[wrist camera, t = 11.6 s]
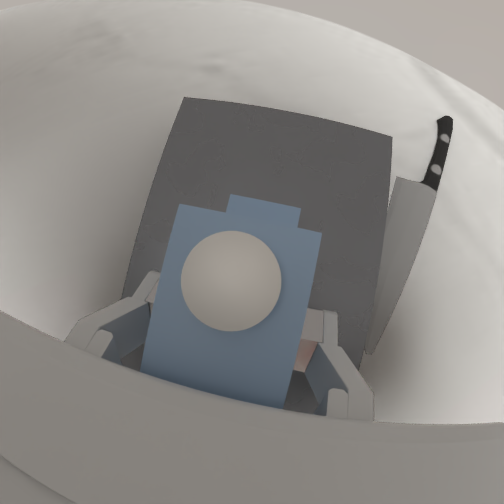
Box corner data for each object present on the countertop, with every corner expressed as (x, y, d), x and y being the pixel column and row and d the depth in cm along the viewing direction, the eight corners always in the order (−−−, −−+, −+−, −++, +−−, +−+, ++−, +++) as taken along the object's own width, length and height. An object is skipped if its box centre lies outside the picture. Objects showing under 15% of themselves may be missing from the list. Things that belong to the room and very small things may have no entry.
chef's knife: (316, 353, 18) (360, 373, 17) (317, 355, 17) (364, 377, 16) (418, 105, 20) (451, 123, 19) (422, 96, 19) (457, 116, 18)
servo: (186, 398, 15) (115, 472, 7) (228, 215, 17) (193, 128, 8) (261, 417, 15) (254, 513, 6) (303, 231, 17) (338, 154, 8)
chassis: (117, 450, 16) (97, 468, 13) (194, 123, 20) (184, 97, 17) (301, 497, 15) (305, 523, 13) (376, 159, 19) (392, 136, 16)
